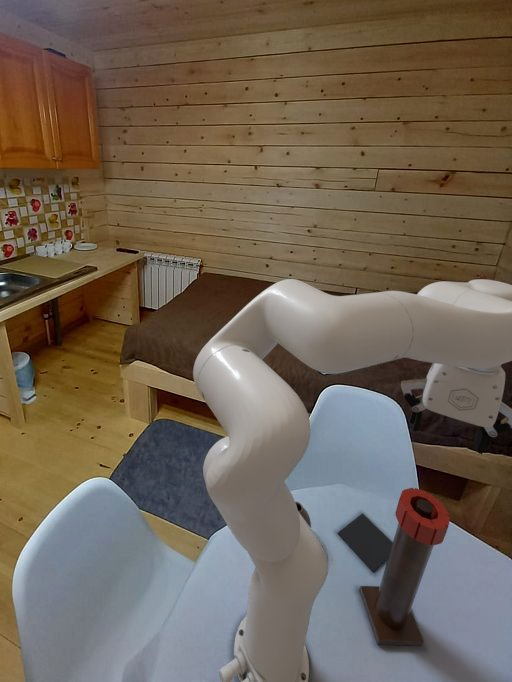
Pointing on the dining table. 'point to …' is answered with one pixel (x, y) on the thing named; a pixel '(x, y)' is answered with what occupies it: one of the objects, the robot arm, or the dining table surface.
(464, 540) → the dining table surface
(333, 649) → the dining table surface
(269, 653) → the robot arm
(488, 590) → the dining table surface
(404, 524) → the ring
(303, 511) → the vase
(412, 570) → the ring holder
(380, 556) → the felt mat
